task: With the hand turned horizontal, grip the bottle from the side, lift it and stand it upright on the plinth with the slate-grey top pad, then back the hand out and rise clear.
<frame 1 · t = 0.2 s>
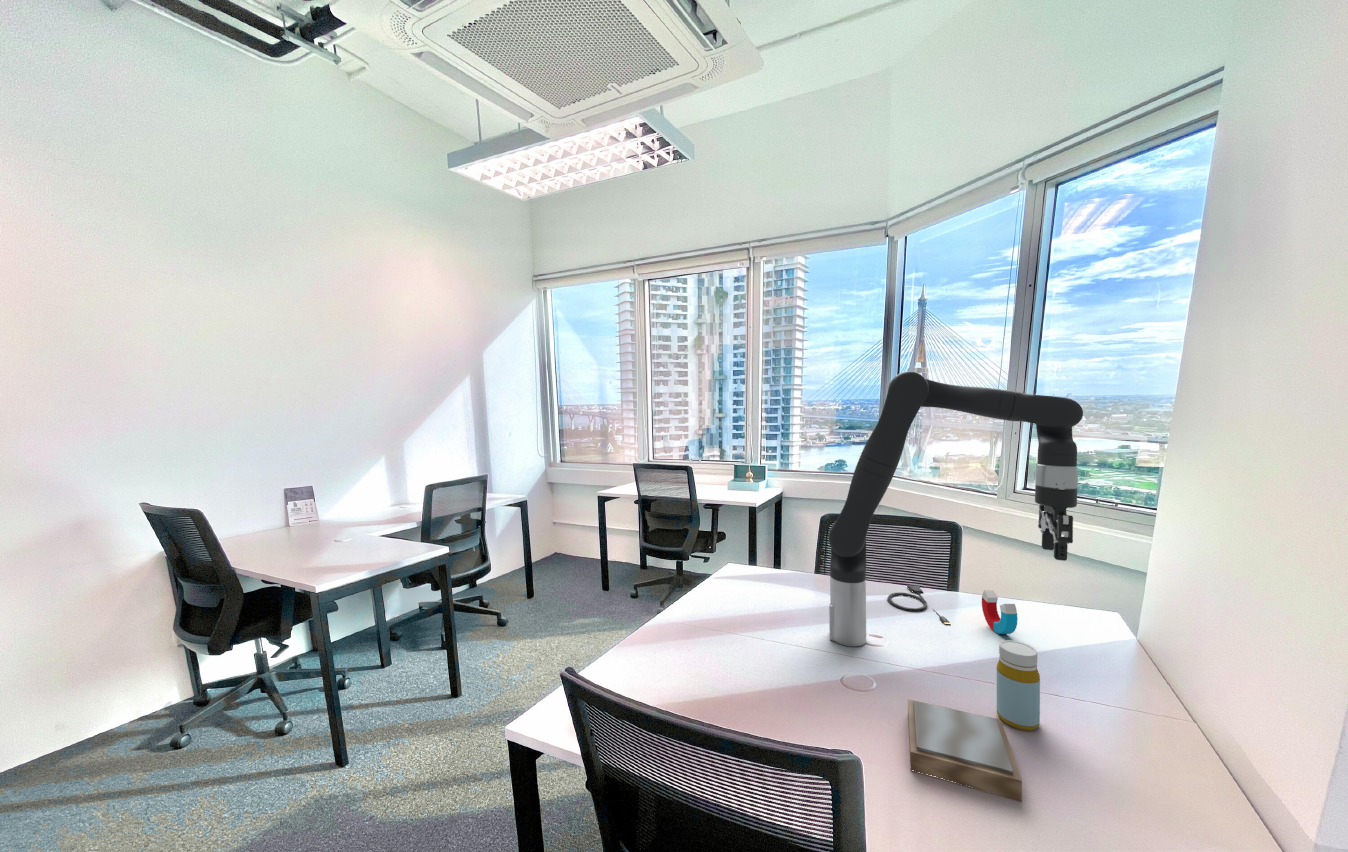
hand: (1053, 554, 107), 29 cm above the table, fingers open, 8 cm apart
magnet: (998, 632, 130), on the table
bottle: (1017, 721, 94), on the table
plinth: (957, 753, 86), on the table
cable: (910, 605, 150), on the table
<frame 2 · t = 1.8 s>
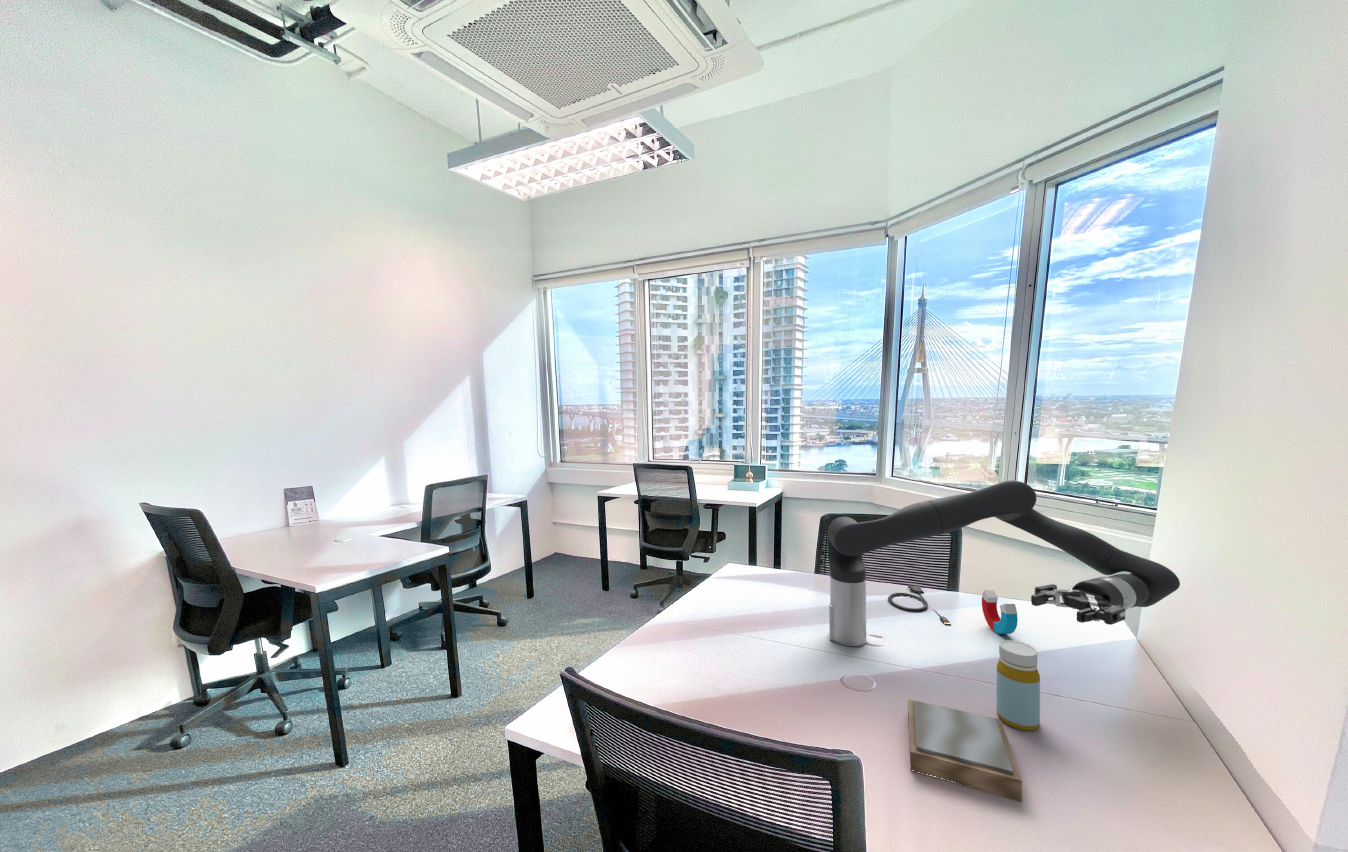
hand: (1055, 608, 97), 21 cm above the table, fingers open, 8 cm apart
nothing on the table moved.
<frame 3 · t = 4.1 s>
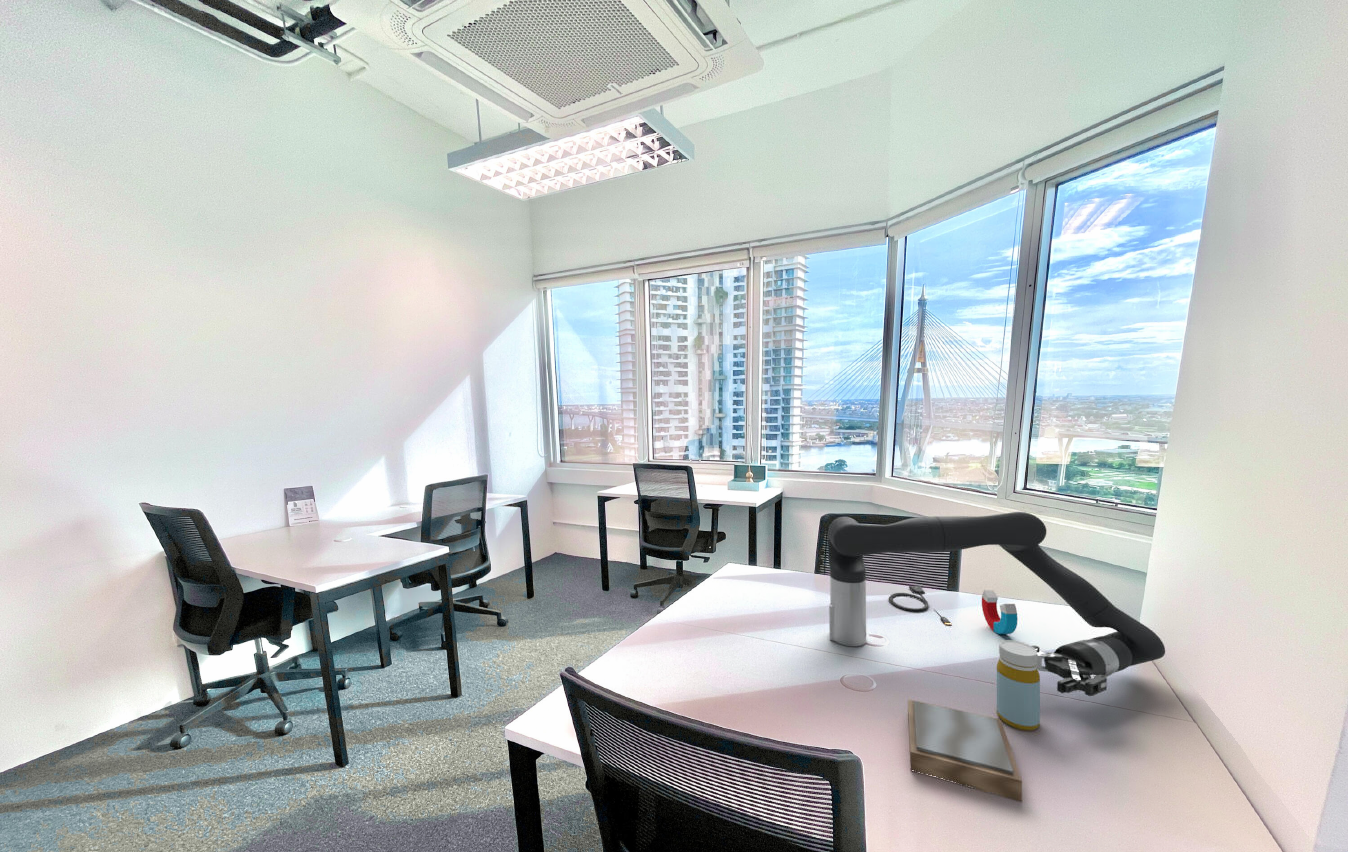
hand: (1036, 675, 96), 8 cm above the table, fingers open, 8 cm apart
nothing on the table moved.
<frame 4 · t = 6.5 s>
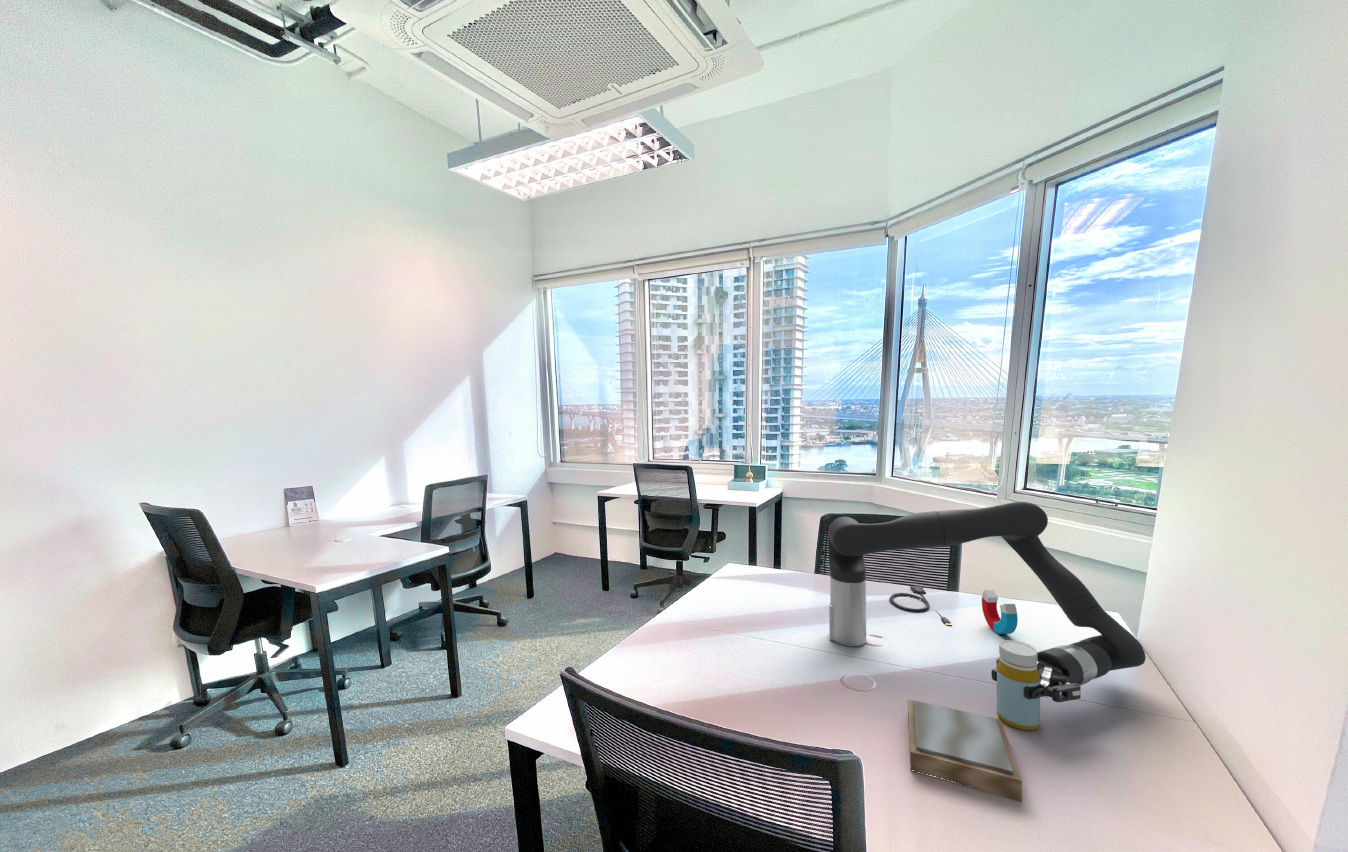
hand: (1009, 684, 93), 8 cm above the table, fingers closed on bottle, 5 cm apart
bottle: (1017, 721, 94), on the table, touching gripper
everything else where it was.
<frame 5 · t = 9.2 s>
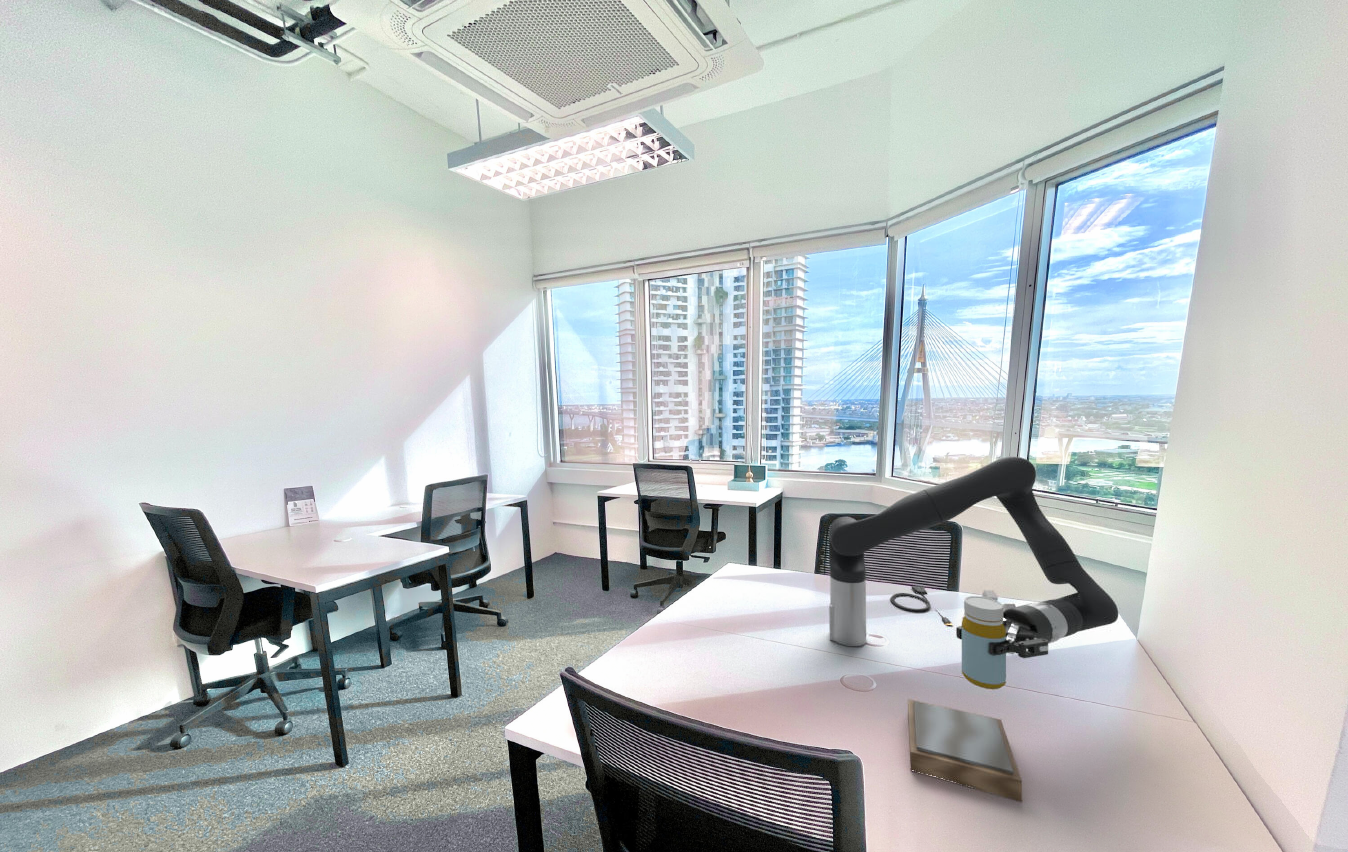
hand: (974, 641, 87), 20 cm above the table, fingers closed on bottle, 5 cm apart
bottle: (983, 680, 89), point 11 cm above the table, touching gripper
everything else where it was.
when the fingers open (13 cm above the table, at t = 12.2 s): bottle drops 1 cm, resting on plinth.
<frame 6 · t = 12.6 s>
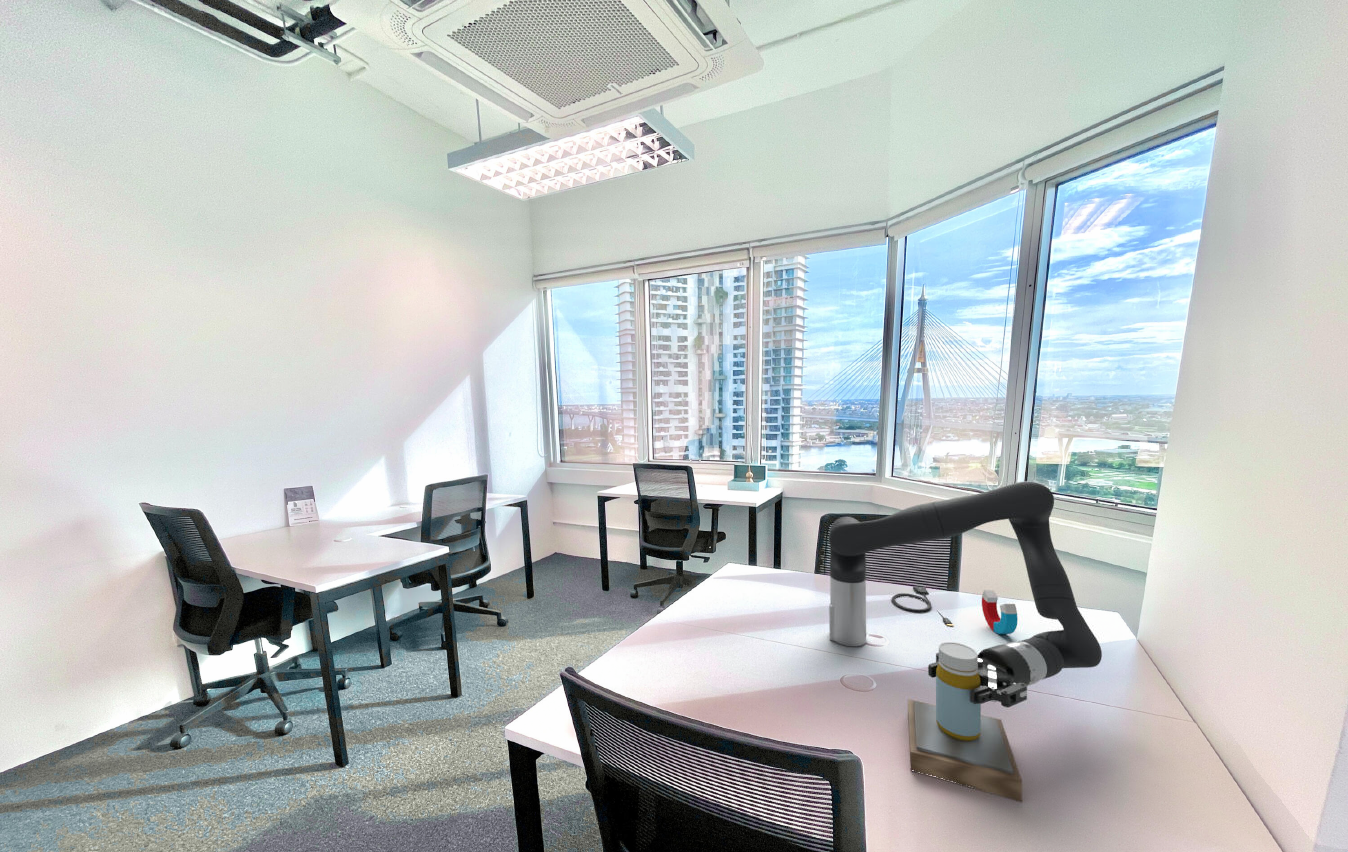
hand: (949, 683, 85), 13 cm above the table, fingers open, 8 cm apart
bottle: (957, 730, 86), point 4 cm above the table, touching gripper, plinth
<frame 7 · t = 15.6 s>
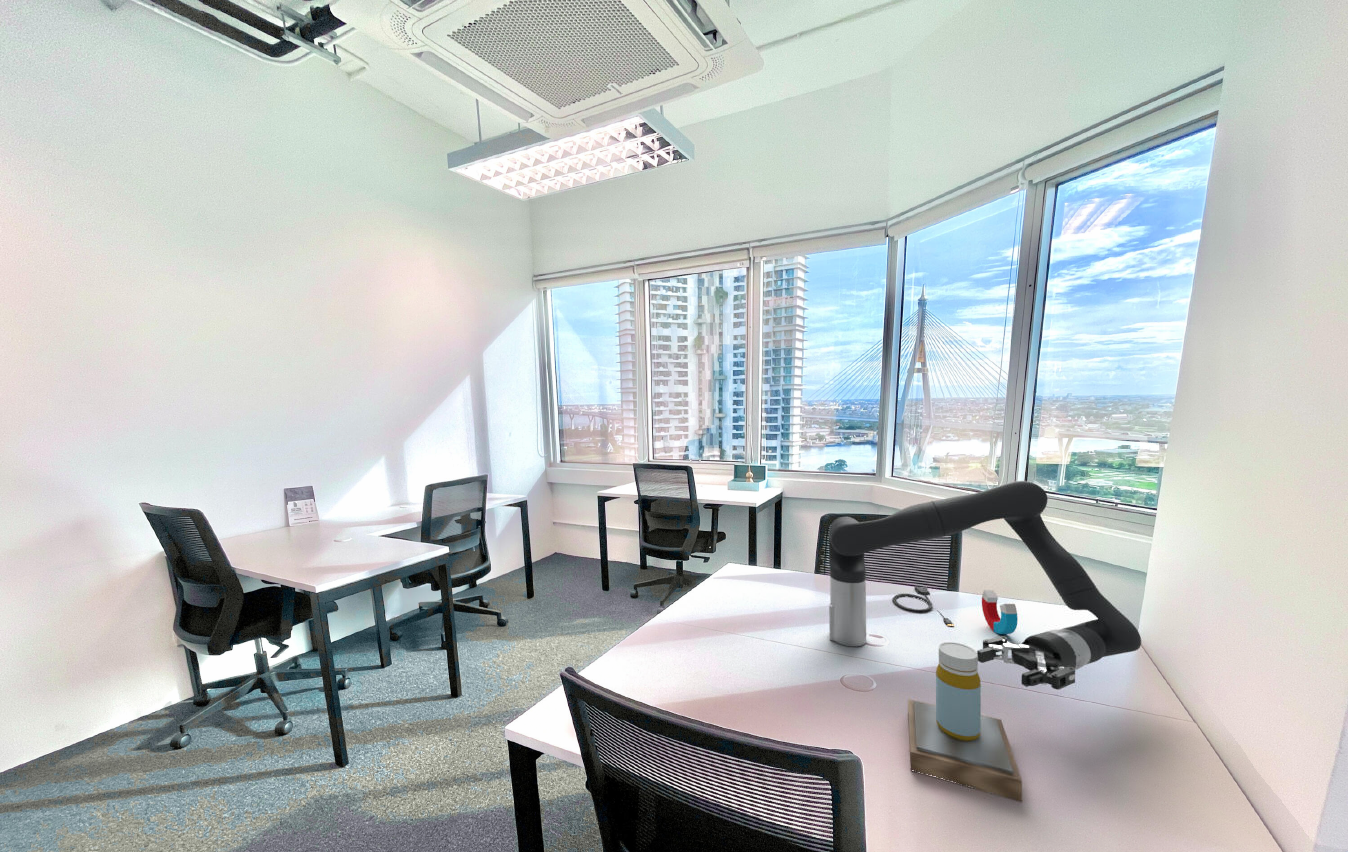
hand: (1000, 668, 89), 14 cm above the table, fingers open, 8 cm apart
bottle: (957, 730, 86), point 4 cm above the table, touching plinth
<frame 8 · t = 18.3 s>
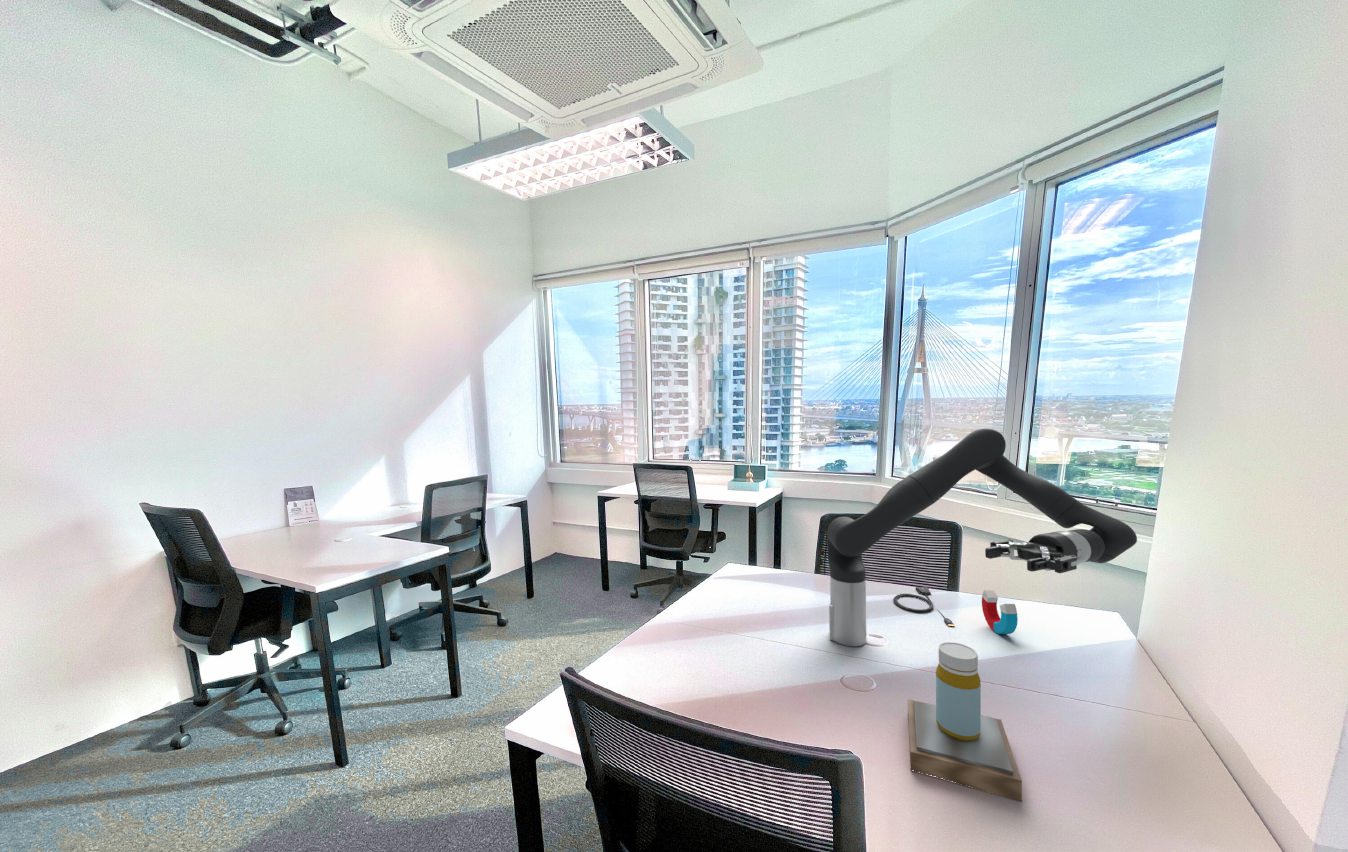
hand: (1007, 559, 96), 32 cm above the table, fingers open, 8 cm apart
at the end: bottle inside the target area on the plinth (0.8 cm from its centre), point 3.8 cm above the plinth's base; bottle tilted 0°; the gripper is holding nothing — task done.
